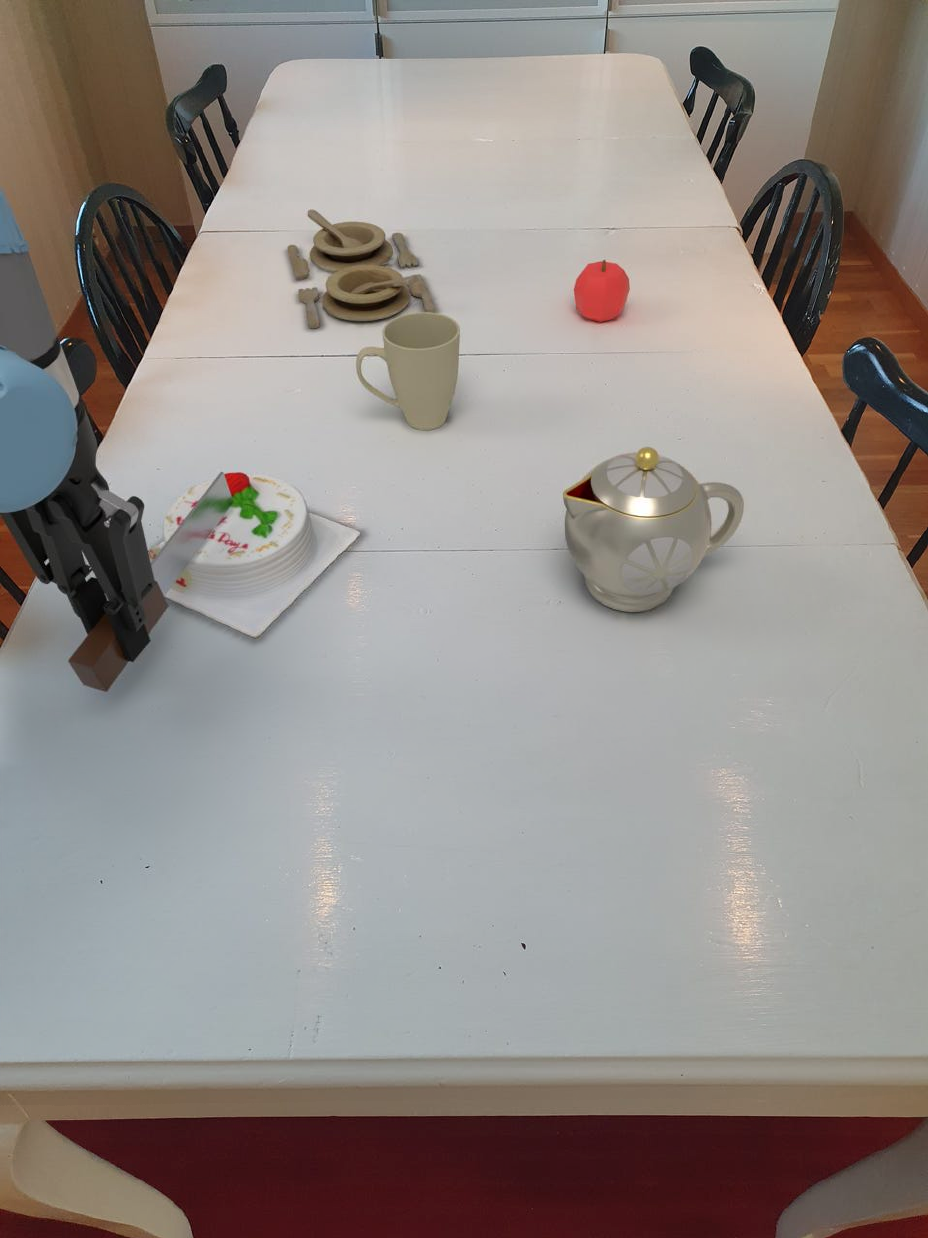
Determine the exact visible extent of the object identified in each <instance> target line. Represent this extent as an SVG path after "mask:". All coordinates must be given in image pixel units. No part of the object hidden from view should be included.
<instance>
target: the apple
mask: <svg viewBox="0 0 928 1238" xmlns="http://www.w3.org/2000/svg"><path fill="white" fill-rule="evenodd" d="M630 290H631V286H630V278H629V276H628V275H627V273H626V271H625V269H623V268H622V267H621V266H620V265H619V264H618V263H615V262H610V261H606V259H603V260H601V261H595V262H590V263H587V264H586V266H585V267H584V268H583V270H582V271H581V272H580V273H579V275H578V276H577V278H576V280H575V283H574V286H573V295H574V302H575V303H574V304H575V309H576V310H577V311H578V312H579V313H580V314H581V315H582V316H583V317H584V318H586V319H588V320H590V321H594V322H598V323H604V322H607V321H610V320H613V319H615V318H618V317H619V316H620V315H621V313H622V312H623V310H624V309H625V305H626V302H627V299H628V297H629V293H630Z"/></svg>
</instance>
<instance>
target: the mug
mask: <svg viewBox="0 0 928 1238" xmlns="http://www.w3.org/2000/svg"><path fill="white" fill-rule="evenodd" d="M381 334H382V340H383V341H382V342H383V347H378V346H366V347H363V348H362V349H360V350H359V352H358V354H357V356H356V360H355V368H356V374H357V377H358V380H359V382H360V383H361V385H362V387H364V388H365V389H366V390H367V391H368V392H370V394H372V395H374V396H375V397H378V398H379V399H380V400H382V401H384V402H385V403H387V404H389V405H390V406H393V407H398V408H400V409H401V411H402V413H403V415H404V419H405V420H406V422H407V424H408V426H410V427H411V428H412V429H415V430H420V431H432V430H435V429H438V428H440V427H442V426H443V425H444V424H445V423H446V420H447V417H448V414H449V411H450V407H451V404H452V401H453V398H454V394H455V391H456V388H457V383H458V377H459V376H458V375H459V366H460V365H459V364H460V363H459V362H460V343H461V342H460V340H461V339H460V338H461V337H460V336H461V327H460V325H459V323H458V322H457V321H456V320H455V319H453V318H452V317H450V316H448V315H445V314H443V313H437V312H434V313H431V312H426V311H418V312H410V313H406V314H401V315H399V316H396V317H394V318H392V319H390V320H389V321H388V322H387V323H386V324H384V326H383V328H382V333H381ZM368 355H372V356H376V357H379V358H380V359H382V360H383V361H384V362H385V364H386V365H387V371H388V376H389V379H390V380H389V381H390V384H391V387H392V391H393V393H394V396H395V398H392V397H390V396H388V395H387V394H385V393H383V392H382V391H380V390H378V388H376V387H375V386H373V385H372V384H370V383H369V382H368V381H367V380H366V379H365V378H364V375H363V373H362V362H363V360H364V358H365V357H366V356H368Z"/></svg>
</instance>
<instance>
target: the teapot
mask: <svg viewBox="0 0 928 1238" xmlns="http://www.w3.org/2000/svg"><path fill="white" fill-rule="evenodd" d="M562 498H563V504H564V506H565V508H566V510H565V516H564V536H565V543H566V546H567V550H568V552H569V554H570V557H571V560H572V561H573V563H574V564H575V566H576V568H577V569H578V570H579V571H580V573H582V575H583V576H584V582H585V586H586V588H587V590H588V592H589V593H590V594H591V596H592V597H593V598H594V599H595V600H596V601H598V602H599V603H600V604H602V605H604V606H605V607H608V608H609V609H612V610H616V611H621V612H626V613H640V612H646V611H650V610H653V609H655V608H657V607H659V606H660V605H662V604H663V603H664V602H666V601H667V600H668V599H669V597H670V596H671V595H672V592H673V590H674V588H676V587H677V586H679V585H680V584H682V583H683V582H684V581H686V580H687V579H688V578H689V577H690V576H691V575H692V574H693V573H694V572H695V570H697V568H698V566H699V565H700V564H701V562H702V560H703V559H704V557H705V556H707V555H710V554H712V553H713V552H715V551H717V550H718V549H720V548H721V547H723V546H724V545H725V544H726V543H727V542H728V541H729V540H730V539H731V538H732V537H733V536H734V534H735V533H736V532H737V530H738V528H739V526H740V524H741V523H742V519H743V515H744V512H745V511H744V510H745V504H744V503H745V502H744V497H743V495H742V494H741V492H740V491H739V490H738V489H737V487H735V486H733V485H730V484H727V483H724V482H720V481H719V482H718V481H708V482H702V483H700V482H699V481H698V480H697V478H696V477H695V476H694V475H693V474H692V473H691V472H690V471H689V470H688V469H687V468H685V467H684V466H683V465H681V464H680V463H678V462H677V461H675V460H673V459H671V458H669V457H666V456H664V455H660V454H659V453H658V451H657V450H656V449H655V448H653V447H651V446H644V447H641V448H640V449H639V450H637V452H627V453H622V454H619V455H615V456H613V457H610V458H608V459H606V460H604V461H601V462H600V463H599V464H597V465H596V466H594V467H593V468H592V469H591V470H589V471H588V472H587V473H586V474H585V475H584V476H583V478H582V479H580V480H579V481H578V482H576V483H575V484H573V485H572V486H571V485H570V487H568V488H566V489H565V490H564V491H563V492H562ZM711 498H719V499H721V500H723V501H725V503H726V504H727V508H728V510H727V514H726V517H725V518H724V521H723V522H722V524H721V525H720V527H719V528H717V530H715V531H714V533H712V512H711V507H710V503H709V499H711Z"/></svg>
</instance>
